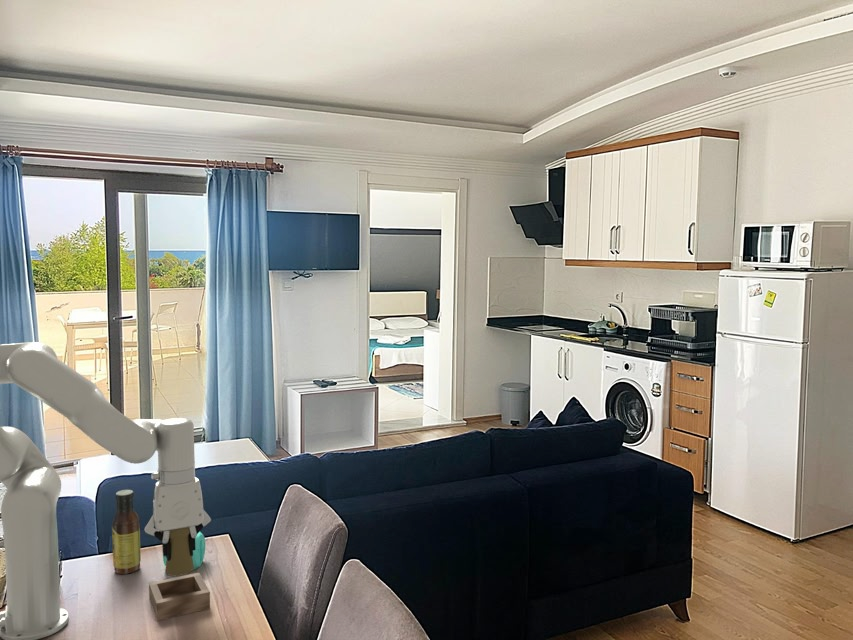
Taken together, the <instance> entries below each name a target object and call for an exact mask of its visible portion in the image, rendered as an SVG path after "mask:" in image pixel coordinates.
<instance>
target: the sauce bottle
mask: <svg viewBox="0 0 853 640" xmlns="http://www.w3.org/2000/svg"><path fill="white" fill-rule="evenodd" d="M134 495H135V494H134V491H133V490H132V489H122V490H118V491H117V492H116V493H115V500H116V507H115V508H116V512H115V515H114V518H113V520H112V524H111V536H112V537H111V539H112V562H113V564H112V565H113V567H114V568H113V571H114V572H115V573H116V574H121V575H125V574H133V573H134V572H136V571H138V570H140V568H141V561H142V560H141V555H142V554H141V553H142V552H141V551H142V550H141V531H140V530H141V528H140V522H139V521H140V518H139V515H138V513H137V512H136V511H135V510H134Z"/></svg>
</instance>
